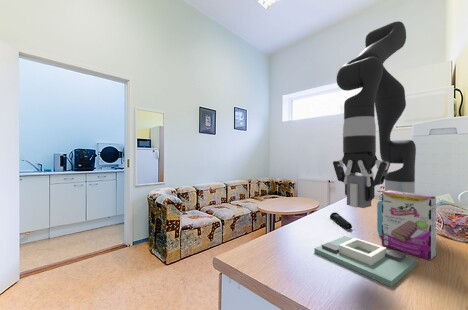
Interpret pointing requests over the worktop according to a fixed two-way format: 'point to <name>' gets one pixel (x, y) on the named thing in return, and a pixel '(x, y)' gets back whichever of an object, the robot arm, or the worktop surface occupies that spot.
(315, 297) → the worktop surface
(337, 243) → the board
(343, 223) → the electric trimmer
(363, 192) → the plug
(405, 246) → the candy bar box
